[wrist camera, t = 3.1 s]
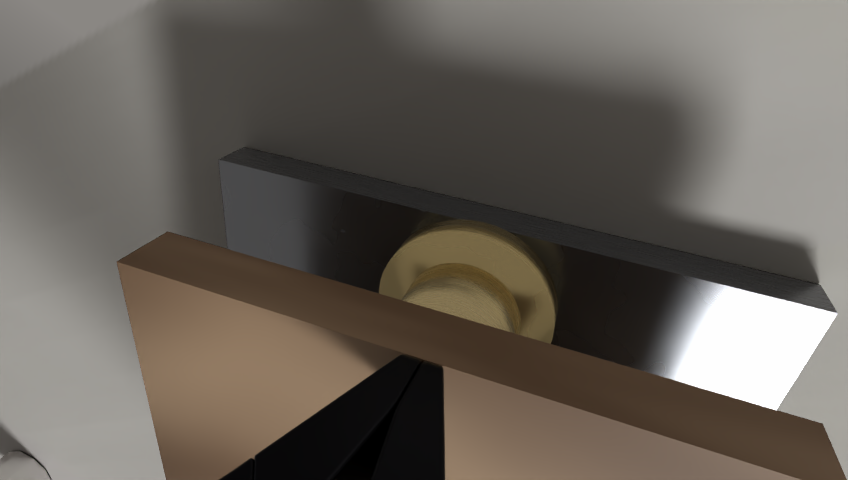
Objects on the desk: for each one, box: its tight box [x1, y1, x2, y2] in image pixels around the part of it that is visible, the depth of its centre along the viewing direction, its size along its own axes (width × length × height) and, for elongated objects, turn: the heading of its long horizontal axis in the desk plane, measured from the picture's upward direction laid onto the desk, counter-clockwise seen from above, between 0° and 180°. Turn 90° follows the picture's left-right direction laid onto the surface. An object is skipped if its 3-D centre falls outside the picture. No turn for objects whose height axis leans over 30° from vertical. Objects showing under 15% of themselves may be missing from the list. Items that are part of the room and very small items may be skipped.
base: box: [219, 147, 838, 410], centre depth 16 cm, size 16×16×4 cm
